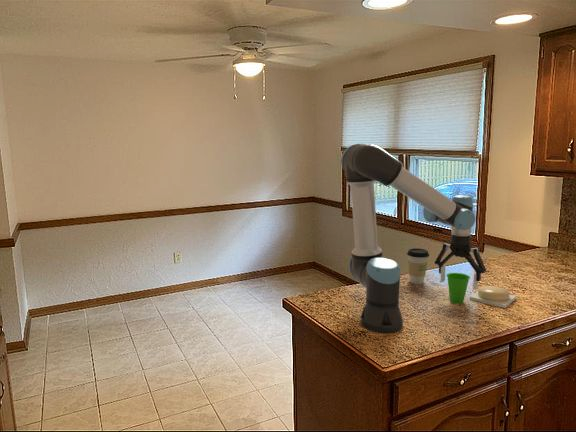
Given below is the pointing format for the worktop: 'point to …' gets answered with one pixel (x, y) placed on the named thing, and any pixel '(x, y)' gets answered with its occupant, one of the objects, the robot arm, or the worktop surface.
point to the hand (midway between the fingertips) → (458, 284)
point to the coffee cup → (417, 264)
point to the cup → (457, 286)
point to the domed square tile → (493, 296)
